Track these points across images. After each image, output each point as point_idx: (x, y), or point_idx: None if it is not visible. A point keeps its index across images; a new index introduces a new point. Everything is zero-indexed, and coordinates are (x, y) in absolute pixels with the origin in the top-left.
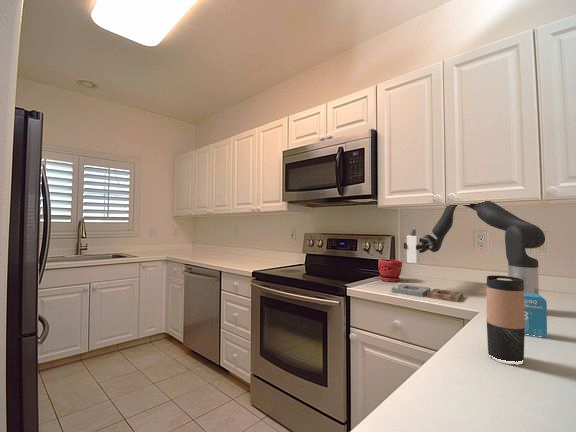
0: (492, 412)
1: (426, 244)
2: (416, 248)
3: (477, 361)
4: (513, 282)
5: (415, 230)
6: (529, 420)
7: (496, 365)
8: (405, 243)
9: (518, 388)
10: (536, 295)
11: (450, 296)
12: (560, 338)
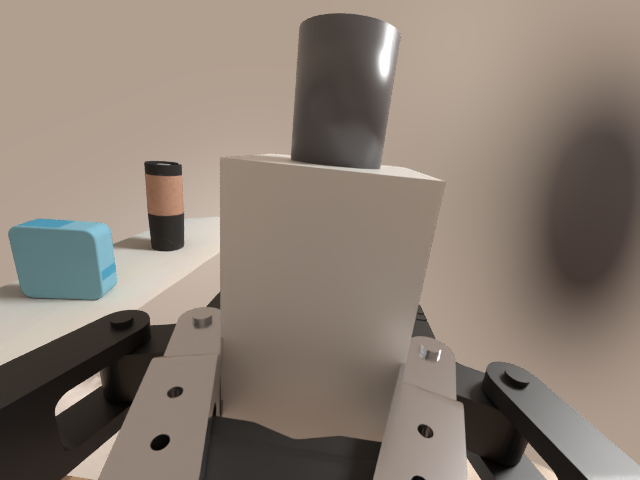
0: (214, 219)
1: (34, 380)
2: None
3: (200, 240)
4: (163, 162)
5: (299, 50)
6: (197, 219)
7: (185, 239)
8: (554, 427)
9: (186, 228)
10: (33, 221)
11: (71, 476)
12: (8, 291)
